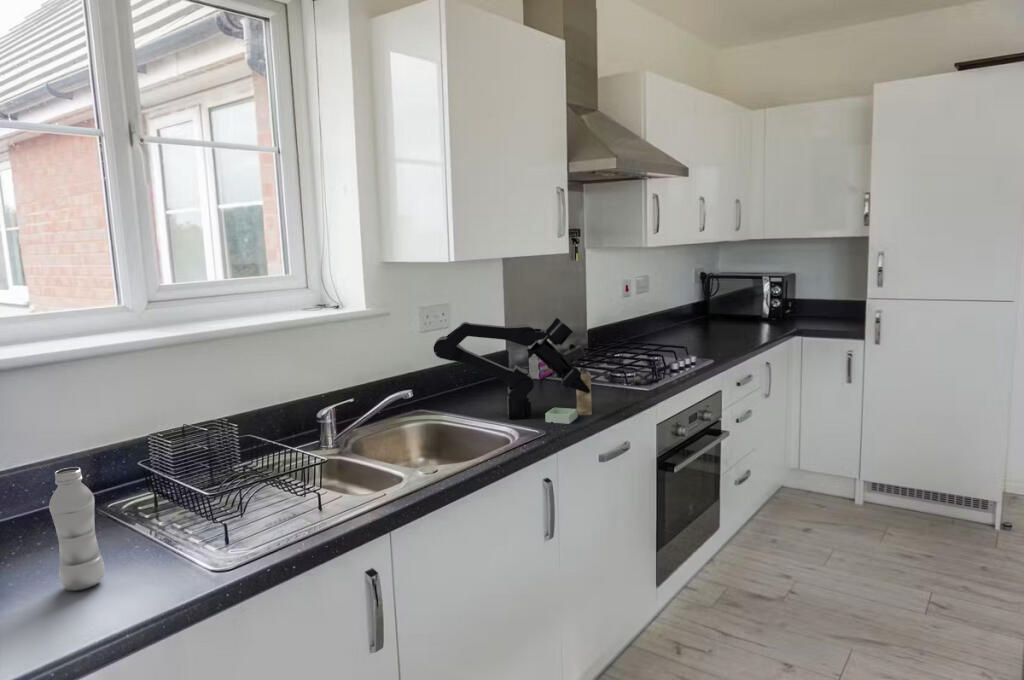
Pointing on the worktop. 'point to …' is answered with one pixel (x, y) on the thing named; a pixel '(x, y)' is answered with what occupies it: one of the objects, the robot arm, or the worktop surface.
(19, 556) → the worktop surface
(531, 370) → the candy bar box
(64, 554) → the plastic bottle
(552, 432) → the worktop surface
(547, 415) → the open square box
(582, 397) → the tan wooden block
